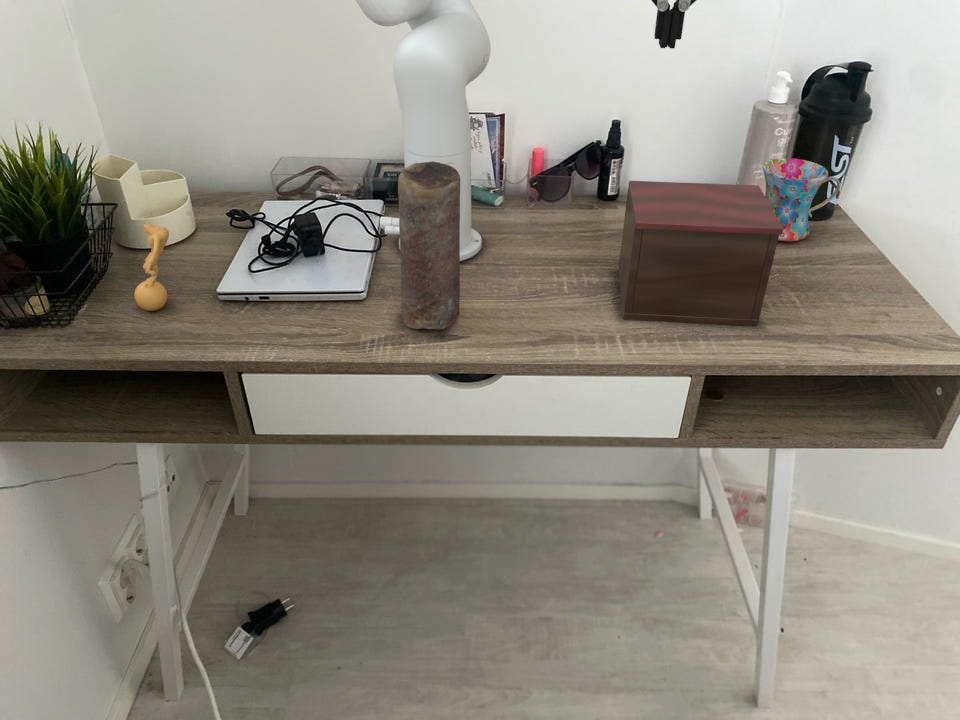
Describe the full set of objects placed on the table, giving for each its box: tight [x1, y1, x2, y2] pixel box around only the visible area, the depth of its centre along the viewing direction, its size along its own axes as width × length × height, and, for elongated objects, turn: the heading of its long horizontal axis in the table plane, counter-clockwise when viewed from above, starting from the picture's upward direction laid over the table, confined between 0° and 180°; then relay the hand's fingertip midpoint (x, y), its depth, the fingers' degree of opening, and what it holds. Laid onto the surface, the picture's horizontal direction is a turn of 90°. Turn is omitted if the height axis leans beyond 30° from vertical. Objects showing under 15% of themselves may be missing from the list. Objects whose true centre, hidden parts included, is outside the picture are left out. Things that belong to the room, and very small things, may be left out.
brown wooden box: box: [617, 187, 779, 327], centre depth 99 cm, size 13×17×13 cm
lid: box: [627, 180, 783, 235], centre depth 95 cm, size 14×17×1 cm
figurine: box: [133, 222, 170, 312], centre depth 97 cm, size 8×6×12 cm
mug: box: [762, 157, 842, 242], centre depth 117 cm, size 12×9×11 cm
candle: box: [397, 161, 461, 331], centre depth 92 cm, size 8×7×20 cm
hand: (666, 45), depth 90 cm, fingers closed
